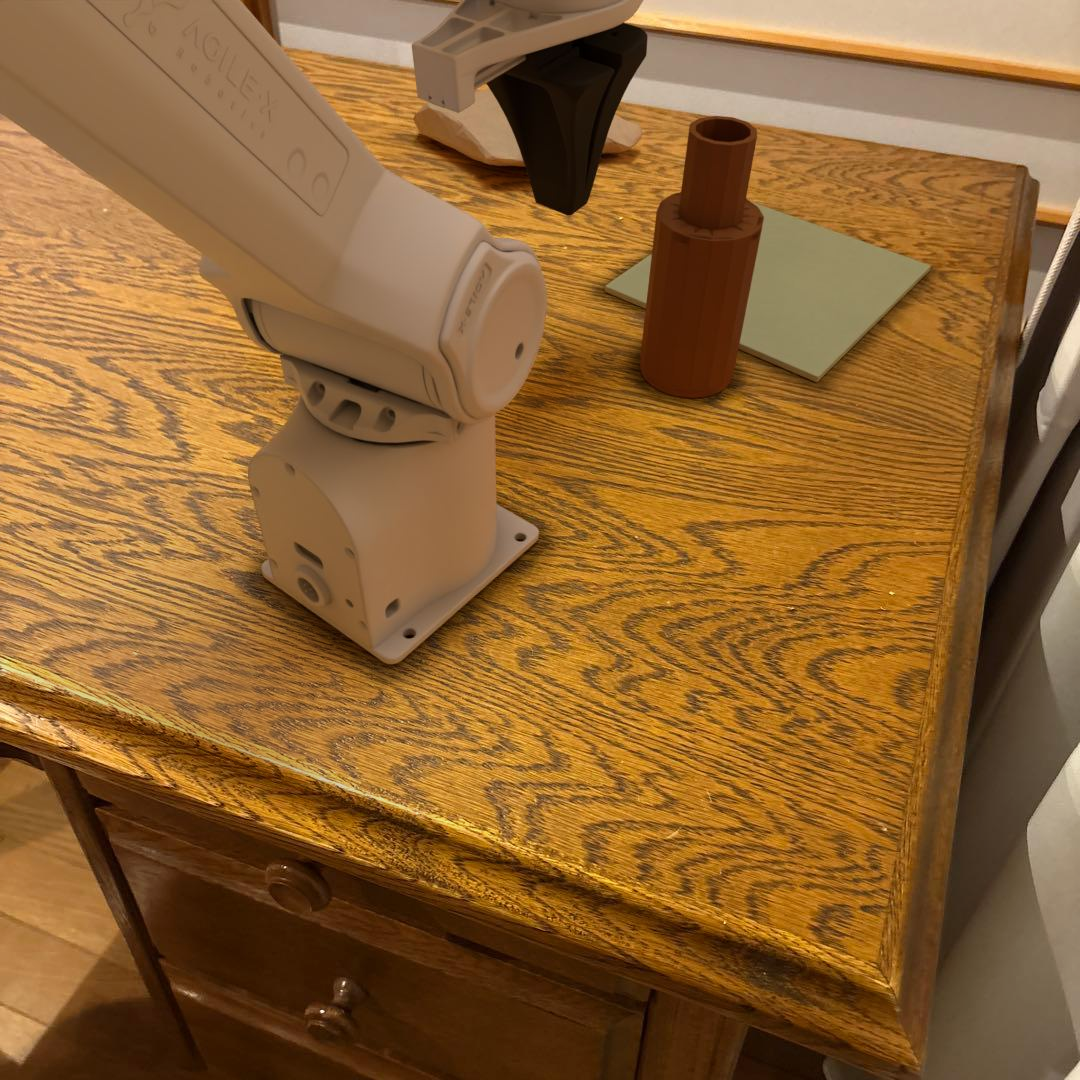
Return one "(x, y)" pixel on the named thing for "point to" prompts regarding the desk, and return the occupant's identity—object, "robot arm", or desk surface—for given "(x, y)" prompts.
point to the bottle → (702, 264)
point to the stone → (499, 131)
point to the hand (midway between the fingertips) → (561, 202)
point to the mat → (806, 293)
